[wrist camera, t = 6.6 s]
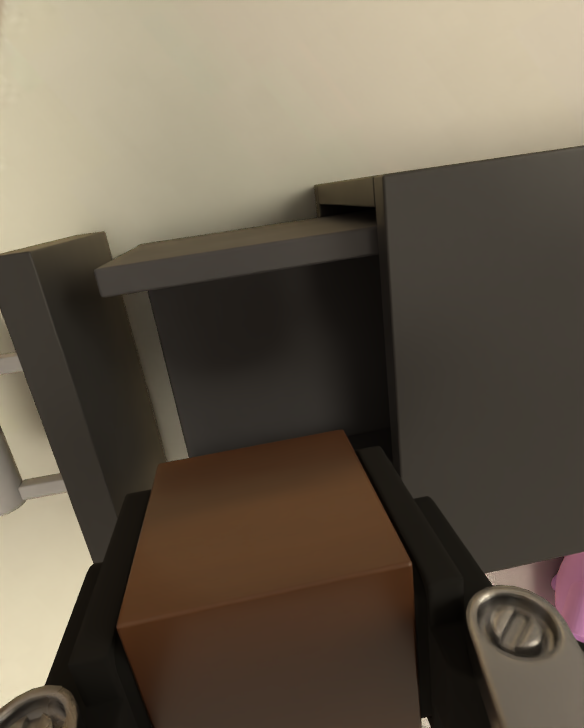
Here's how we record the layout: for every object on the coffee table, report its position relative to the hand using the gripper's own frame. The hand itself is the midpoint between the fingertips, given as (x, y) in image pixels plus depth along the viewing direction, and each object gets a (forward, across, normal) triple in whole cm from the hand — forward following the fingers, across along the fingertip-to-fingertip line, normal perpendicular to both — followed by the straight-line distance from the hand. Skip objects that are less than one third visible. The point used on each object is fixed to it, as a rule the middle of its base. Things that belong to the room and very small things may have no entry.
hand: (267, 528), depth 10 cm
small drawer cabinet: (+13, -12, 0) cm, 18 cm away
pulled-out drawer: (+12, +1, 0) cm, 12 cm away
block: (0, 0, 0) cm, 0 cm away
